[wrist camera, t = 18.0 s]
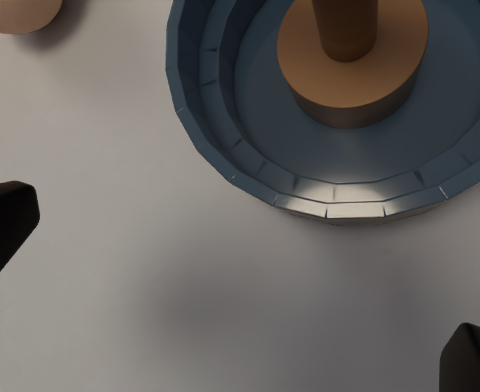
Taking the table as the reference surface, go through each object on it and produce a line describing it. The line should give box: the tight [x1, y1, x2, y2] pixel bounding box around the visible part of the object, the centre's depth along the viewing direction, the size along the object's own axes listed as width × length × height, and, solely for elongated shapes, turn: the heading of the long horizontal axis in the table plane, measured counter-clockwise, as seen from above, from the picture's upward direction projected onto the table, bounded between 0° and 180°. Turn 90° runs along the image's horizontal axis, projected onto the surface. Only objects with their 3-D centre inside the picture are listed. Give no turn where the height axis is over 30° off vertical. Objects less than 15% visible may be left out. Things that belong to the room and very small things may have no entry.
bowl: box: [166, 0, 480, 225], centre depth 17 cm, size 15×15×5 cm
